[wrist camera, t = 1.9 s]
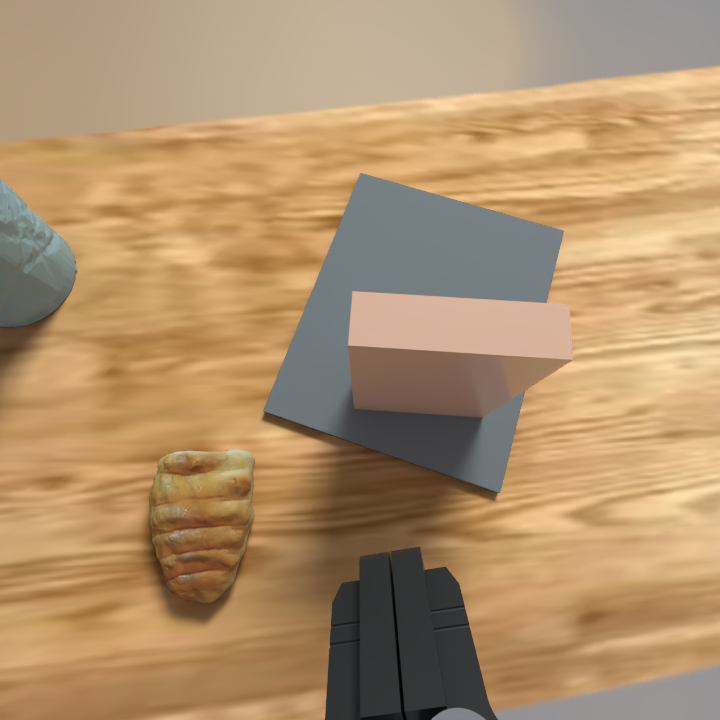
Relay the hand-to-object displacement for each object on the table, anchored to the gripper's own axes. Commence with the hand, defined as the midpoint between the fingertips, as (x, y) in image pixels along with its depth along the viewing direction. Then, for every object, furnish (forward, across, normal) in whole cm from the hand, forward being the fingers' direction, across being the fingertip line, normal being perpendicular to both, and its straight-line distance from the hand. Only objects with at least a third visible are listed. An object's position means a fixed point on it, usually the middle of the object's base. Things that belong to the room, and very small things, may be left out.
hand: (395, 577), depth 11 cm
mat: (+24, -4, +1) cm, 25 cm away
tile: (+20, -2, +6) cm, 21 cm away
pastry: (+16, +13, +9) cm, 23 cm away
